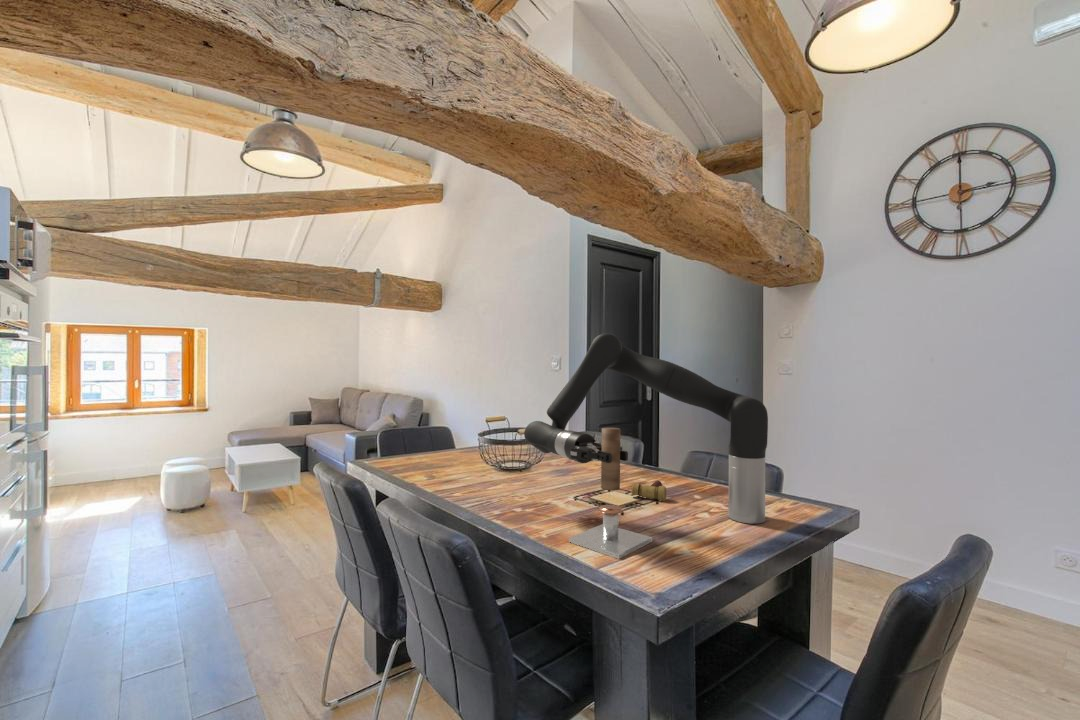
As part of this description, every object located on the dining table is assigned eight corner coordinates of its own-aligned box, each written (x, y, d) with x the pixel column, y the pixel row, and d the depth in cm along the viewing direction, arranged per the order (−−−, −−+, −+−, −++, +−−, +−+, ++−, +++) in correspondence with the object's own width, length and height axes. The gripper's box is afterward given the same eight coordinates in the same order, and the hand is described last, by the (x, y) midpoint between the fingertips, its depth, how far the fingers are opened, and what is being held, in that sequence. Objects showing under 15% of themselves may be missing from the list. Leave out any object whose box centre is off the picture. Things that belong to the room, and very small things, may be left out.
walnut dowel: (608, 484, 117) (608, 427, 117) (623, 488, 114) (624, 428, 114) (597, 488, 114) (598, 428, 114) (612, 491, 111) (613, 430, 111)
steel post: (603, 527, 124) (603, 496, 124) (652, 541, 114) (652, 507, 114) (568, 542, 114) (569, 508, 114) (618, 558, 104) (619, 521, 104)
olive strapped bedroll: (645, 474, 170) (674, 477, 166) (645, 487, 170) (674, 491, 166) (631, 484, 151) (664, 487, 147) (631, 499, 151) (663, 503, 147)
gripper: (552, 433, 122) (594, 443, 108) (596, 429, 130) (641, 438, 116) (552, 463, 122) (594, 477, 108) (596, 457, 130) (641, 470, 116)
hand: (618, 457), depth 112 cm, fingers closed on walnut dowel, 4 cm apart
